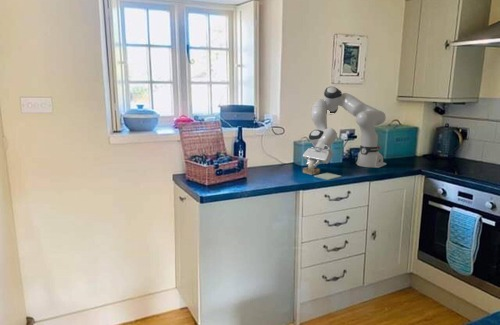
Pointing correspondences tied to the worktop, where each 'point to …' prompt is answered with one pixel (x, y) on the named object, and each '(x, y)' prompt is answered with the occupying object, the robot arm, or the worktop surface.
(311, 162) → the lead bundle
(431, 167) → the worktop surface
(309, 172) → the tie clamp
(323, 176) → the tile pad
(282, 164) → the worktop surface
